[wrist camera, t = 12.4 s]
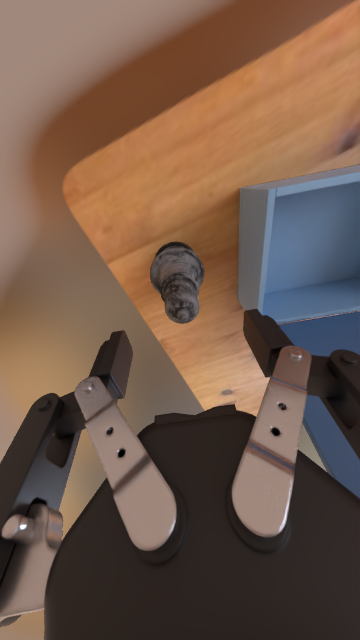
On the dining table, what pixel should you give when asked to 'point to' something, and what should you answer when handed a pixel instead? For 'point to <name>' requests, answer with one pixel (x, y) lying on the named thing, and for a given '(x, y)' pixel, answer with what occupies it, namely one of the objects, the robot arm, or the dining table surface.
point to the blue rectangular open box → (301, 246)
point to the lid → (329, 441)
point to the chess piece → (178, 280)
